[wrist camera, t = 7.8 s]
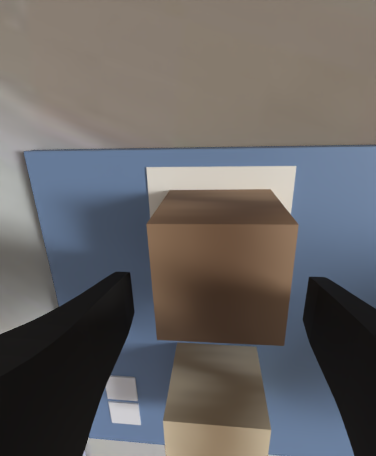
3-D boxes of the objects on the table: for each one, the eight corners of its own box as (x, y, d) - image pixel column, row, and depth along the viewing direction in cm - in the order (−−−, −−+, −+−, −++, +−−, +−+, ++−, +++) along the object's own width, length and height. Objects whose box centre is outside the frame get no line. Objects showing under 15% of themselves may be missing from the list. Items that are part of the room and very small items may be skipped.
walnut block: (174, 275, 14) (156, 339, 10) (169, 189, 13) (146, 224, 8) (263, 277, 14) (284, 346, 10) (270, 189, 12) (298, 224, 8)
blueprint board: (93, 426, 21) (88, 439, 20) (34, 150, 13) (22, 151, 13) (441, 457, 18) (452, 473, 17) (594, 141, 11) (625, 143, 10)
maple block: (179, 397, 18) (167, 484, 13) (177, 342, 16) (163, 420, 12) (251, 403, 17) (262, 494, 13) (256, 346, 15) (271, 430, 11)
